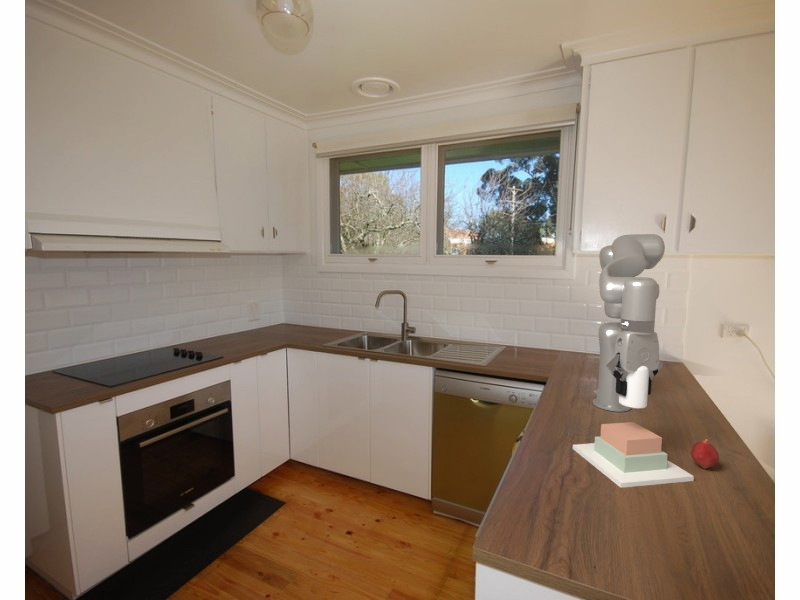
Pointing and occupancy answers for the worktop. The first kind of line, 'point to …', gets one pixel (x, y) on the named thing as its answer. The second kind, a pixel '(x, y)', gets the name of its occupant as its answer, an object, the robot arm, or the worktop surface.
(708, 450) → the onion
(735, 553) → the worktop surface
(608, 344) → the robot arm
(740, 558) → the worktop surface
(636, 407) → the can
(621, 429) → the tiered block pedestal
